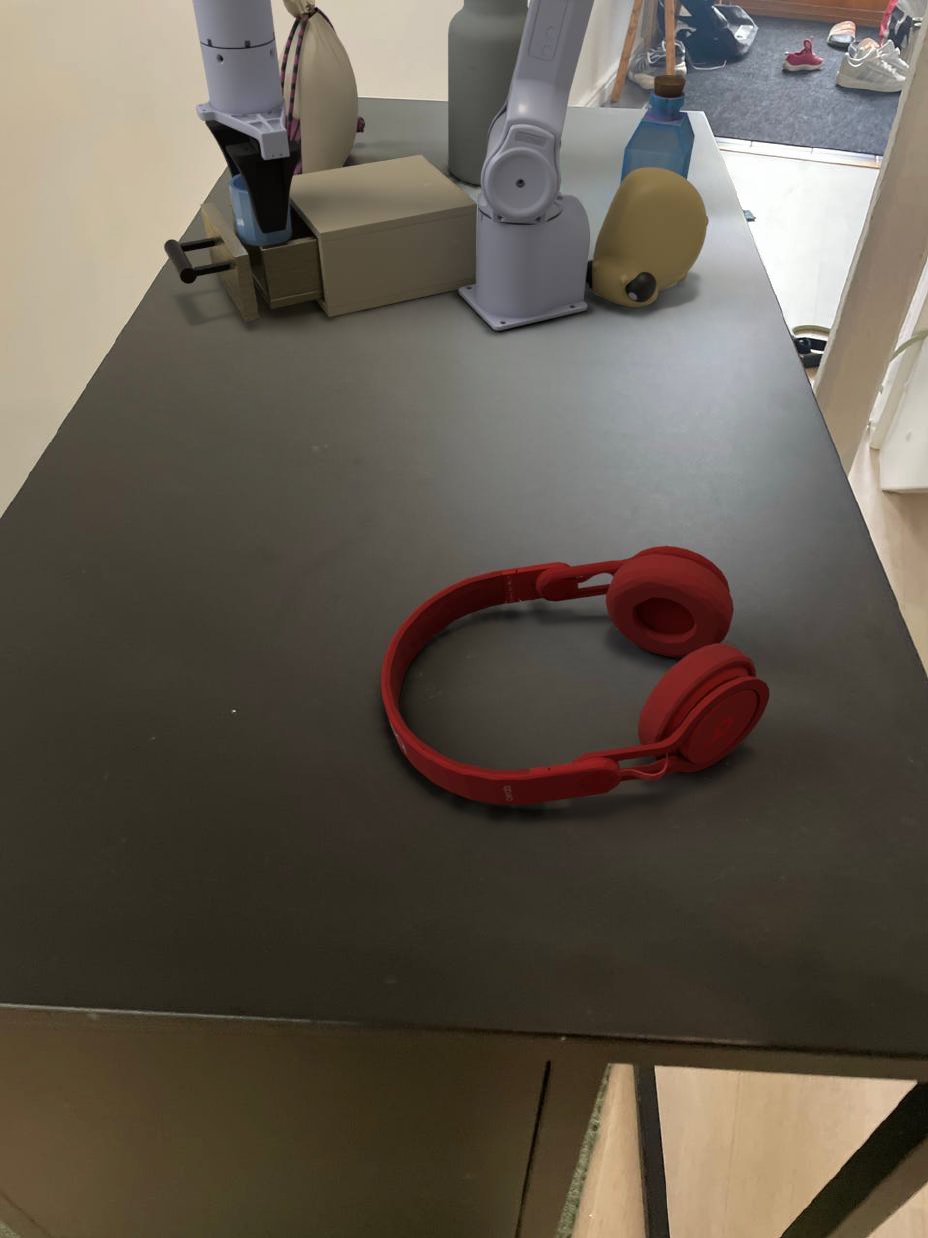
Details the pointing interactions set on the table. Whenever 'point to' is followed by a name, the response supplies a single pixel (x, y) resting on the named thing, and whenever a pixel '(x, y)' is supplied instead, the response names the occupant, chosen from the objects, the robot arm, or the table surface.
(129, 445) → the table surface
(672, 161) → the blue corked bottle
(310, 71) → the pouch
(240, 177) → the cup
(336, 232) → the wooden drawer box
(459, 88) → the water bottle
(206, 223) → the drawer
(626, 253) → the tan rounded piece
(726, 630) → the headphones
